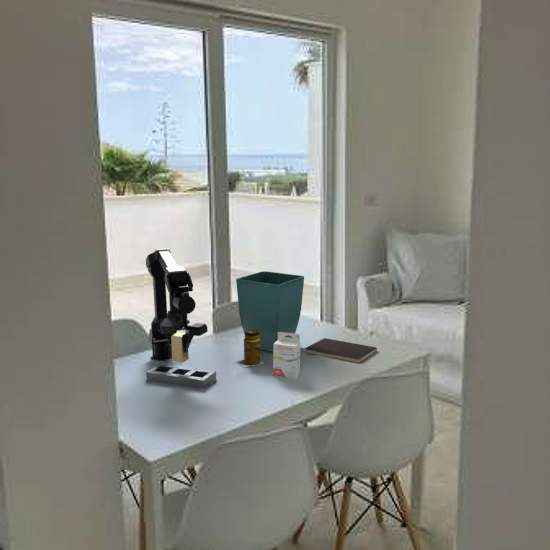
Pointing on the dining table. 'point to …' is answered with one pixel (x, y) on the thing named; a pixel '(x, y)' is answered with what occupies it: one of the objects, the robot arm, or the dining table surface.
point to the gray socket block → (181, 376)
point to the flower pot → (270, 304)
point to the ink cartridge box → (286, 355)
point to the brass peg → (178, 348)
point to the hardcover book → (341, 350)
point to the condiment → (251, 349)
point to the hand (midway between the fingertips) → (180, 351)
